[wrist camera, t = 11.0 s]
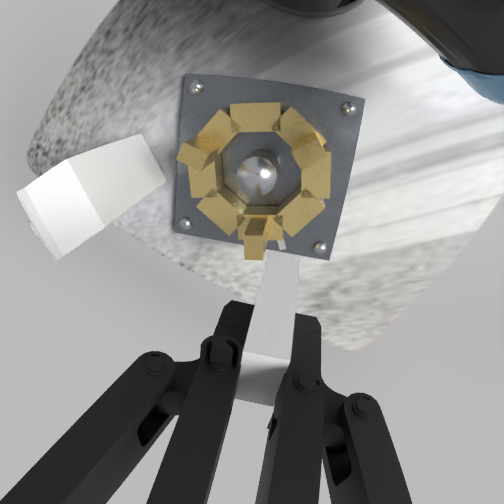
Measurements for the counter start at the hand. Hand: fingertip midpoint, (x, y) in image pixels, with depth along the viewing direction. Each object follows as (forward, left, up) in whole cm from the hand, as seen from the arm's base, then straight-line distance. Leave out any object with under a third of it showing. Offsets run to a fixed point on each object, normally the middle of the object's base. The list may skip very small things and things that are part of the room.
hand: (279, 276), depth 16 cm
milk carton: (+3, -20, -24) cm, 31 cm away
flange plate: (0, -4, -23) cm, 24 cm away
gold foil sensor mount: (0, -4, -22) cm, 22 cm away
